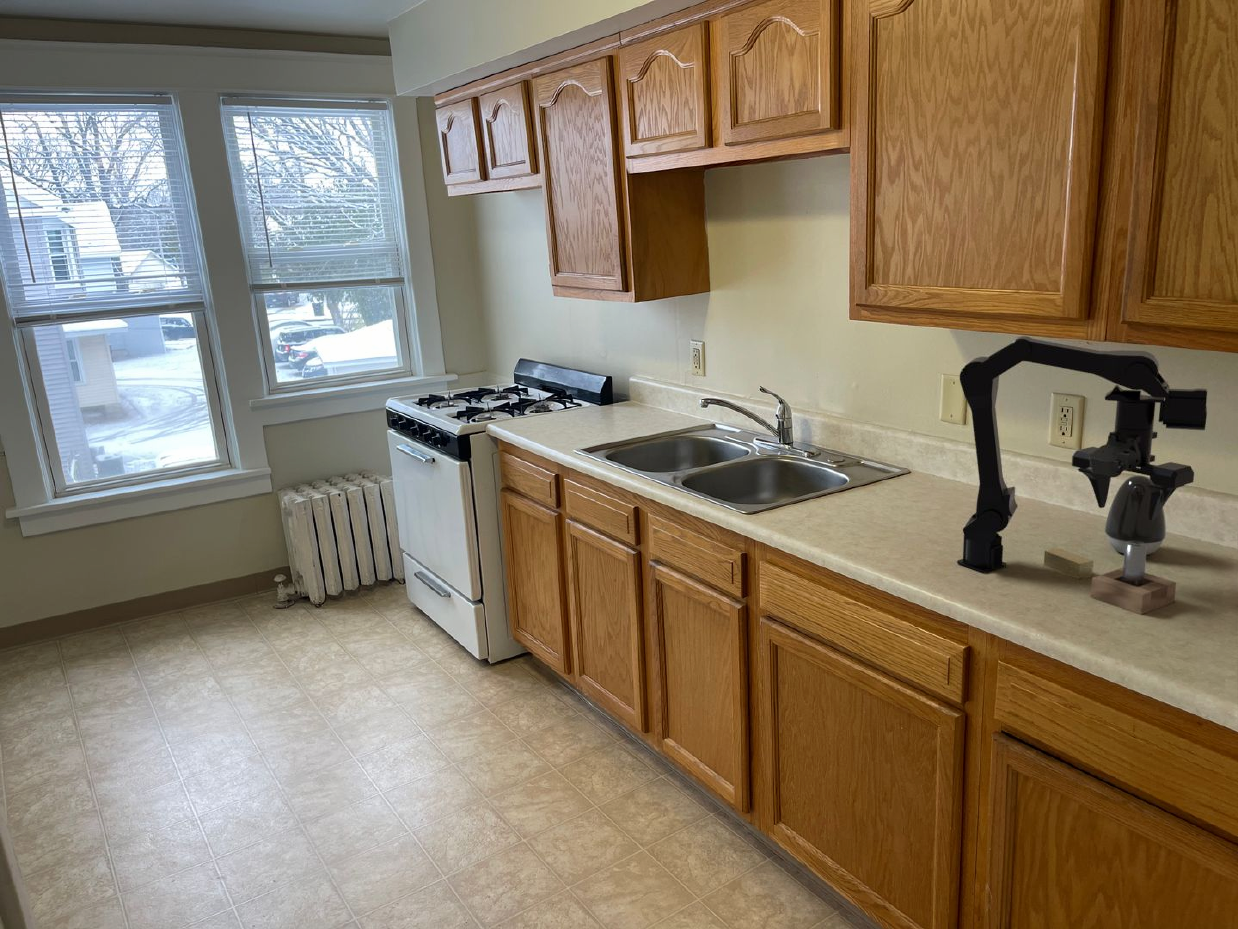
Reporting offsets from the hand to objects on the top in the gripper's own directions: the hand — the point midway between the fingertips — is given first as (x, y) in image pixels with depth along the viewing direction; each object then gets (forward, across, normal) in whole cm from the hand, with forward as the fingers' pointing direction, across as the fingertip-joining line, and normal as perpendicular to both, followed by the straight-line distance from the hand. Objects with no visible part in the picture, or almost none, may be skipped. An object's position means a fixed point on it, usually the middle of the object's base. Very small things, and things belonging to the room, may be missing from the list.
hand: (1126, 513), depth 160 cm
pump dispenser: (+13, -8, +16) cm, 22 cm away
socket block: (+13, +5, -5) cm, 15 cm away
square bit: (+13, -9, -2) cm, 16 cm away
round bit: (+13, +5, -5) cm, 15 cm away
